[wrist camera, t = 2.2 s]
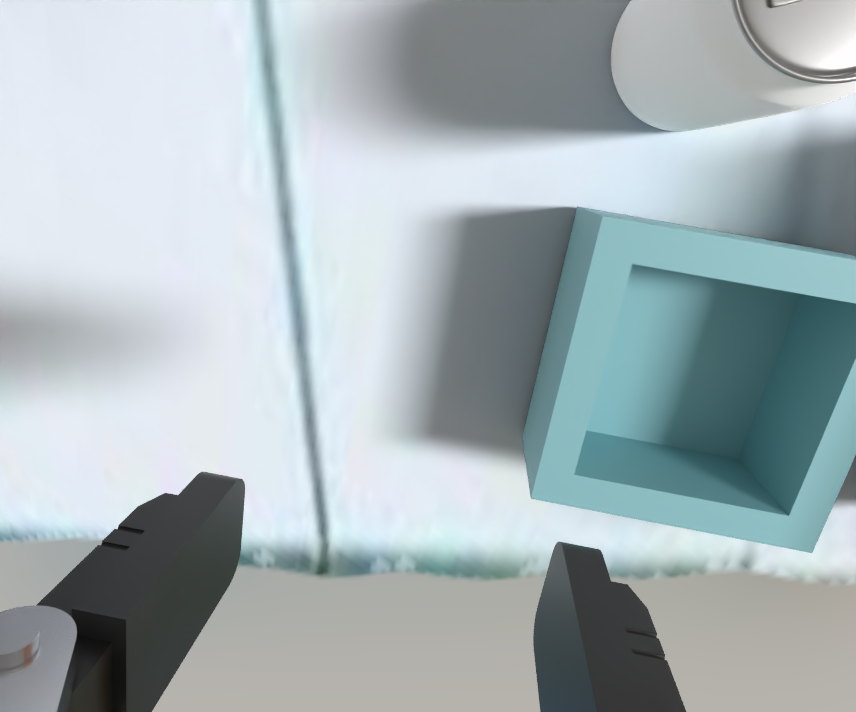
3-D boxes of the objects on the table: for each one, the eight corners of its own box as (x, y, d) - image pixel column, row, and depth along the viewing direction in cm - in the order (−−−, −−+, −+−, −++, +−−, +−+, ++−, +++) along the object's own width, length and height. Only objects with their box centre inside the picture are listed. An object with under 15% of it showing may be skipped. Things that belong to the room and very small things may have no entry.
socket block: (522, 437, 31) (531, 498, 25) (577, 206, 27) (602, 216, 21) (749, 480, 30) (812, 553, 24) (838, 252, 26) (936, 274, 21)
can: (766, 116, 25) (999, 72, 14) (614, 145, 26) (716, 126, 15) (764, -53, 23) (1031, -265, 12) (601, -16, 24) (705, -181, 13)
